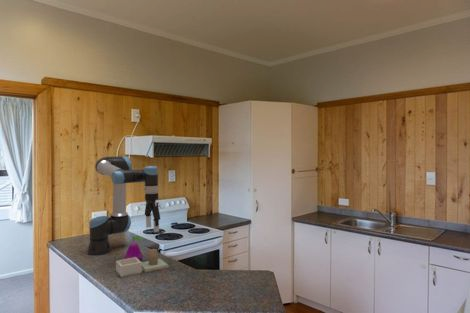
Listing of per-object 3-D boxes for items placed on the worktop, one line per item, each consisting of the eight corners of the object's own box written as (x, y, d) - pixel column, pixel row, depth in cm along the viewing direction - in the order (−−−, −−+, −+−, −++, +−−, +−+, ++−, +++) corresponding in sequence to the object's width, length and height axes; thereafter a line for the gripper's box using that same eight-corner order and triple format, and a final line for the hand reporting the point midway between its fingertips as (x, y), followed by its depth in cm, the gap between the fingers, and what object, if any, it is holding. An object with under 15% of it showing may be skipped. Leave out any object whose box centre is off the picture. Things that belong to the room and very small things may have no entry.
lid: (138, 265, 187) (138, 249, 187) (160, 260, 194) (159, 245, 194) (145, 271, 176) (145, 255, 176) (168, 266, 183) (167, 250, 183)
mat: (137, 266, 187) (137, 264, 187) (160, 261, 195) (160, 260, 195) (145, 273, 175) (145, 272, 175) (169, 267, 183) (169, 266, 183)
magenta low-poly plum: (137, 263, 191) (136, 238, 191) (120, 263, 193) (120, 238, 193) (146, 257, 202) (145, 234, 202) (130, 257, 204) (129, 233, 204)
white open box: (116, 271, 179) (115, 260, 179) (135, 267, 185) (135, 256, 185) (121, 277, 170) (120, 266, 170) (141, 272, 176) (141, 262, 176)
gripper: (138, 191, 193) (139, 226, 193) (152, 195, 172) (153, 234, 173) (150, 190, 197) (151, 224, 198) (165, 194, 176) (166, 232, 177)
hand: (152, 229), depth 185 cm, fingers open, 13 cm apart
